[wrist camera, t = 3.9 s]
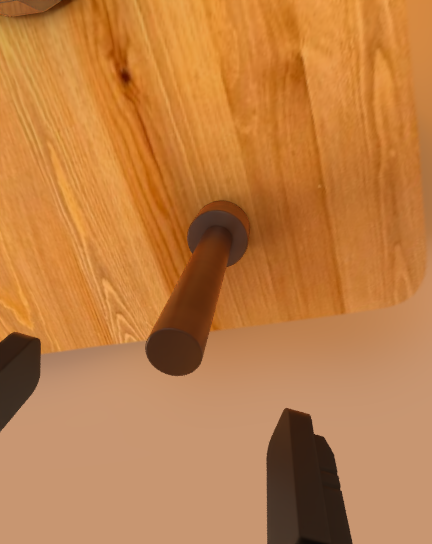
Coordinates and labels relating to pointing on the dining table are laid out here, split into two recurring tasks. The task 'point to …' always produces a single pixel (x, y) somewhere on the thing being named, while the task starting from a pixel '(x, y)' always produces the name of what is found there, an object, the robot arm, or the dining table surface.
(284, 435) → the robot arm
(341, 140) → the dining table surface
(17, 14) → the bowl
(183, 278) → the masher
